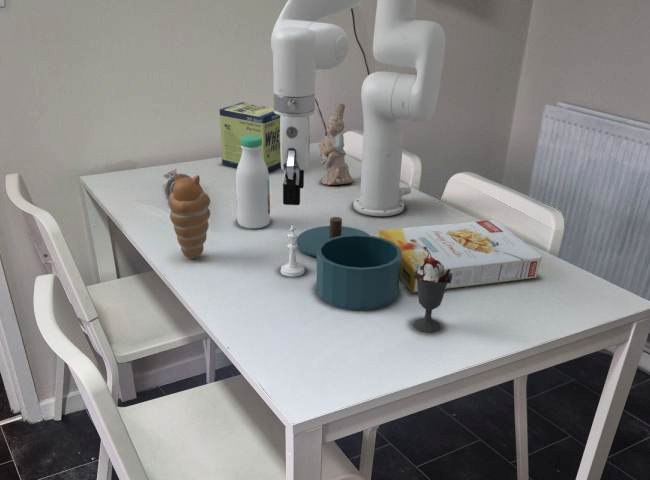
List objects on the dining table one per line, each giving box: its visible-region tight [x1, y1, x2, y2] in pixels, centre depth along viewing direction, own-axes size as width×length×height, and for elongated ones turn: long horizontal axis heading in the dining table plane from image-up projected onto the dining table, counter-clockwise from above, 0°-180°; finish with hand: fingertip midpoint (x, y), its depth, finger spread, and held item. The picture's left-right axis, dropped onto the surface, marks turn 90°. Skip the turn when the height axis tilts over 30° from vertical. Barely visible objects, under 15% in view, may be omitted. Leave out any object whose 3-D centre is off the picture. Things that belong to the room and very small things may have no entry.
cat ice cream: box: [167, 172, 211, 260], centre depth 148 cm, size 9×8×18 cm
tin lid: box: [296, 216, 370, 258], centre depth 157 cm, size 17×17×6 cm
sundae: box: [412, 247, 452, 333], centre depth 125 cm, size 7×7×15 cm
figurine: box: [318, 102, 354, 186], centre depth 189 cm, size 9×8×20 cm
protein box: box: [219, 101, 281, 173], centre depth 202 cm, size 10×16×16 cm
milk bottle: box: [235, 135, 271, 229], centre depth 164 cm, size 8×8×20 cm
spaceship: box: [162, 168, 192, 200], centre depth 176 cm, size 8×35×8 cm
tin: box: [315, 234, 402, 311], centre depth 138 cm, size 16×16×8 cm
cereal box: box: [378, 219, 542, 294], centre depth 149 cm, size 20×6×28 cm
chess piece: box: [280, 224, 305, 277], centre depth 145 cm, size 5×5×10 cm
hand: (293, 195), depth 139 cm, fingers open, 9 cm apart
